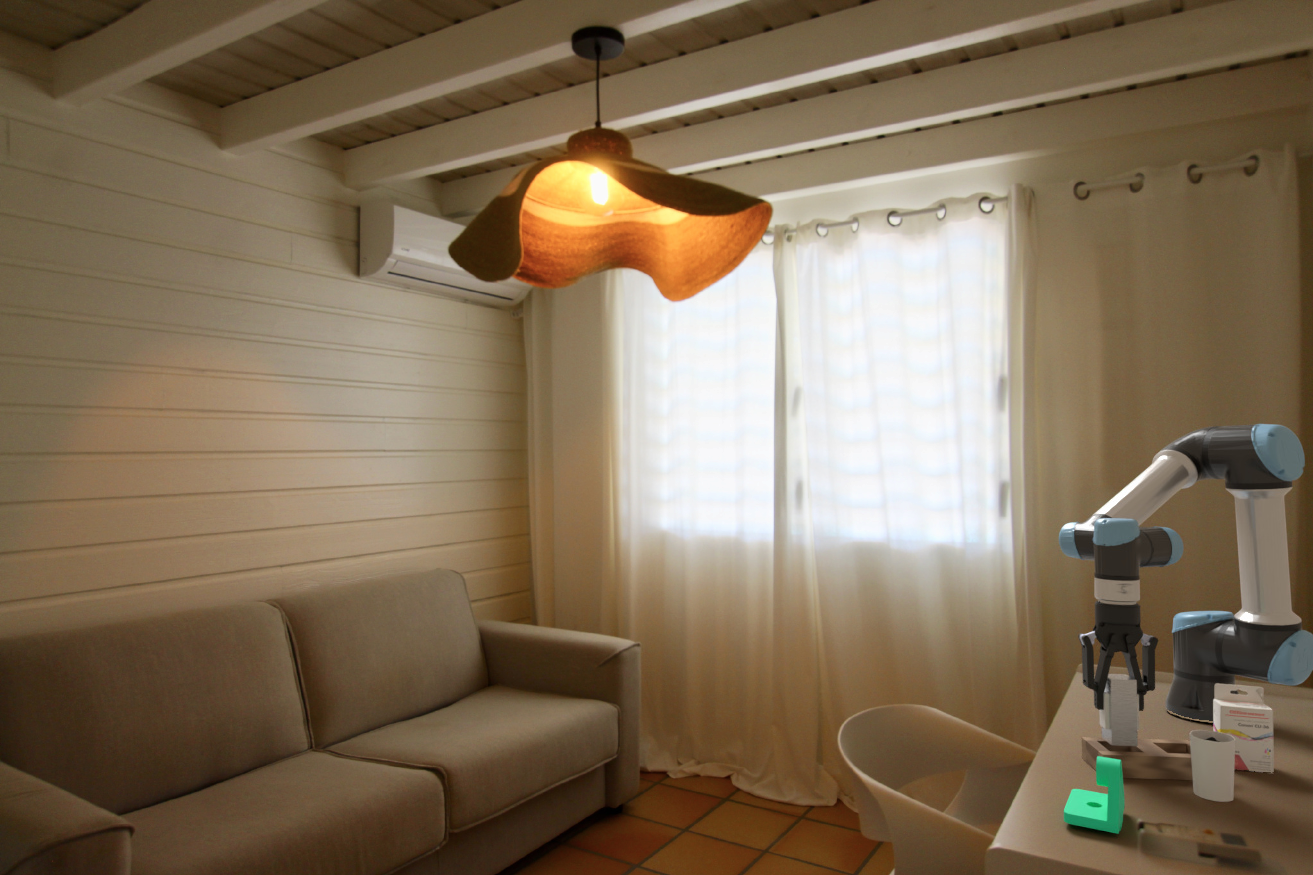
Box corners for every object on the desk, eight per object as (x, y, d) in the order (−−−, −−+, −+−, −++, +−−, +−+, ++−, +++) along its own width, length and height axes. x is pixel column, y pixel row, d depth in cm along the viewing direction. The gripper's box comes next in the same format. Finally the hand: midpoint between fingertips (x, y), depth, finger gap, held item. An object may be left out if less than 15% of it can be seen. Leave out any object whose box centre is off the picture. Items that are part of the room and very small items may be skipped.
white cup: (1182, 787, 150) (1180, 729, 150) (1221, 787, 150) (1219, 729, 150) (1205, 802, 143) (1204, 742, 143) (1246, 802, 143) (1244, 742, 143)
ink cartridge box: (1220, 768, 159) (1218, 688, 159) (1213, 760, 163) (1211, 682, 164) (1275, 774, 156) (1273, 692, 156) (1266, 765, 161) (1264, 685, 161)
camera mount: (1072, 803, 143) (1071, 741, 144) (1124, 813, 139) (1123, 749, 140) (1063, 829, 133) (1061, 762, 134) (1118, 841, 129) (1117, 771, 129)
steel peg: (1127, 738, 161) (1125, 674, 162) (1137, 746, 157) (1136, 680, 157) (1101, 737, 162) (1100, 673, 162) (1111, 745, 157) (1110, 679, 158)
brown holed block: (1192, 761, 163) (1192, 740, 163) (1221, 781, 153) (1220, 758, 153) (1081, 758, 165) (1081, 737, 165) (1103, 776, 155) (1102, 754, 155)
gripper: (1075, 603, 157) (1077, 732, 157) (1176, 605, 155) (1179, 735, 155) (1060, 597, 165) (1062, 720, 164) (1157, 599, 163) (1159, 723, 162)
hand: (1119, 727), depth 159 cm, fingers closed on steel peg, 4 cm apart
